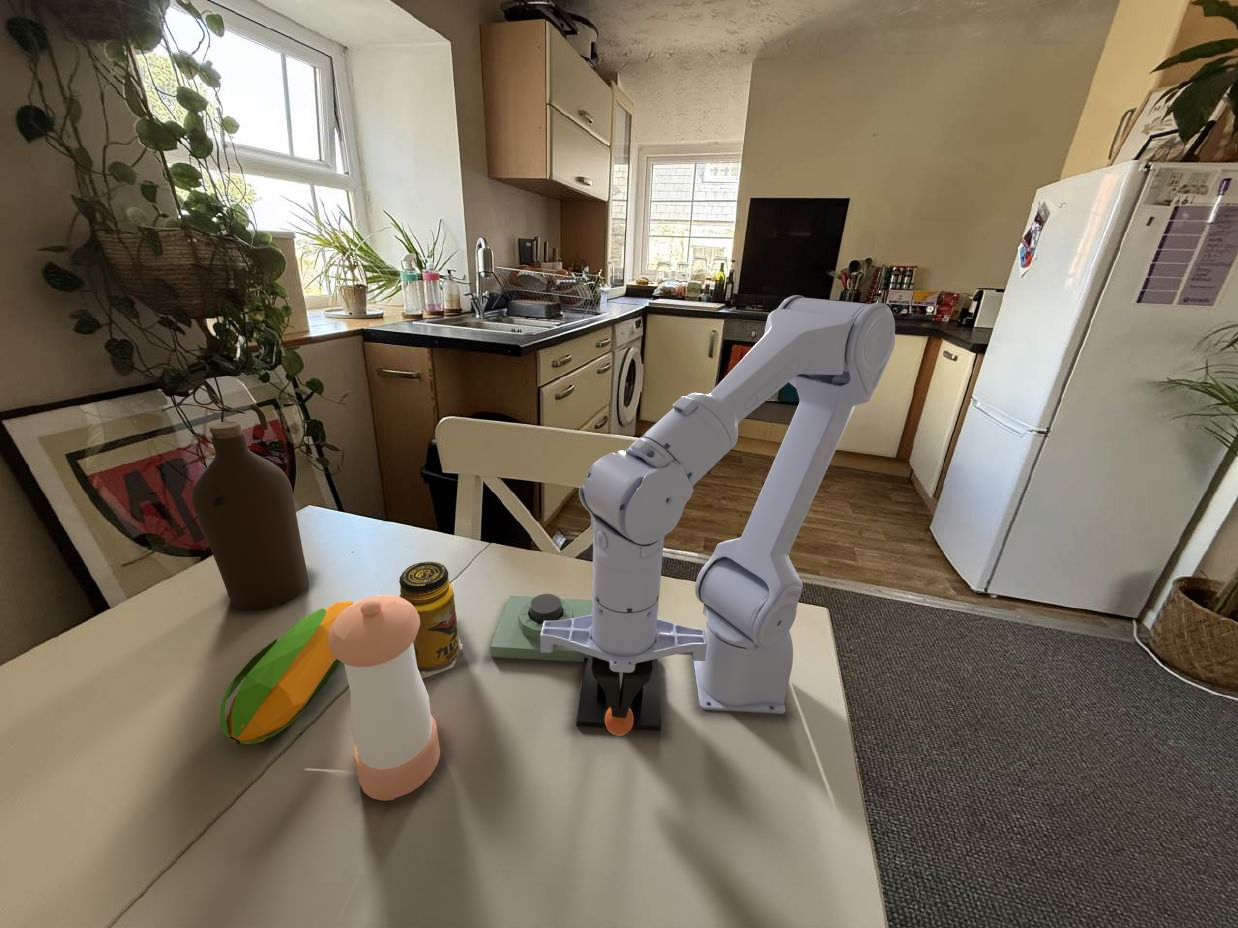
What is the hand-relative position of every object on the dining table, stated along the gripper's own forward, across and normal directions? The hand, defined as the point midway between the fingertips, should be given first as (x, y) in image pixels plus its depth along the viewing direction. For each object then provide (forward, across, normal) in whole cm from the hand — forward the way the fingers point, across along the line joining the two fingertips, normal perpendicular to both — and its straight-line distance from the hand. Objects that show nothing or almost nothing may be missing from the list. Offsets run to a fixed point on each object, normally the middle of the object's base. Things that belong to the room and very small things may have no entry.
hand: (619, 708), depth 47 cm
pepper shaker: (+7, -21, -2) cm, 22 cm away
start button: (+3, -10, +17) cm, 20 cm away
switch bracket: (+6, 0, +8) cm, 10 cm away
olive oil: (+7, -51, +23) cm, 56 cm away
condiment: (+7, -24, +12) cm, 28 cm away
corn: (+7, -36, +7) cm, 37 cm away
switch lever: (+2, 0, +4) cm, 5 cm away
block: (+6, -10, +17) cm, 21 cm away
